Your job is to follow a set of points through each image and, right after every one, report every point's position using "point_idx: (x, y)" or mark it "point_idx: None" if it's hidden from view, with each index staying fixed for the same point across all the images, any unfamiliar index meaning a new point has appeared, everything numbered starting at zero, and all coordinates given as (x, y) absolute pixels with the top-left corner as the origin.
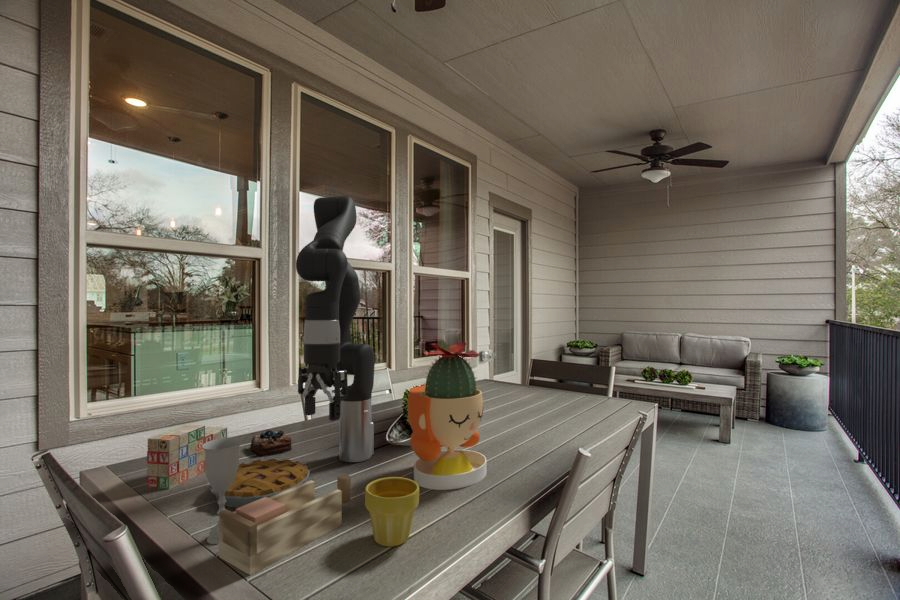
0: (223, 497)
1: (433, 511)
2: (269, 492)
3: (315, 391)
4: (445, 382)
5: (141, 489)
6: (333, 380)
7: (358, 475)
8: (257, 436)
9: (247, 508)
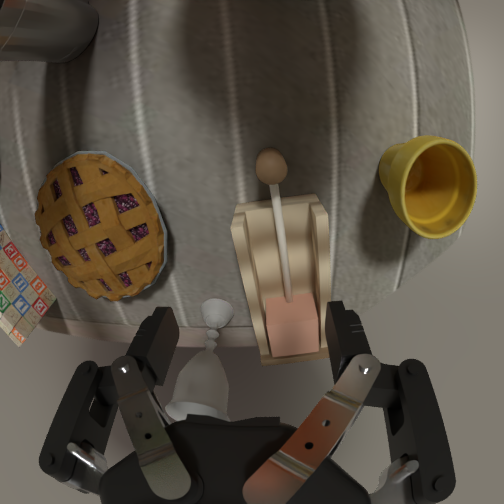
0: (213, 348)
1: (393, 66)
2: (163, 253)
3: (146, 385)
4: None
5: (50, 313)
6: (336, 468)
7: (148, 55)
8: None
9: (284, 349)
